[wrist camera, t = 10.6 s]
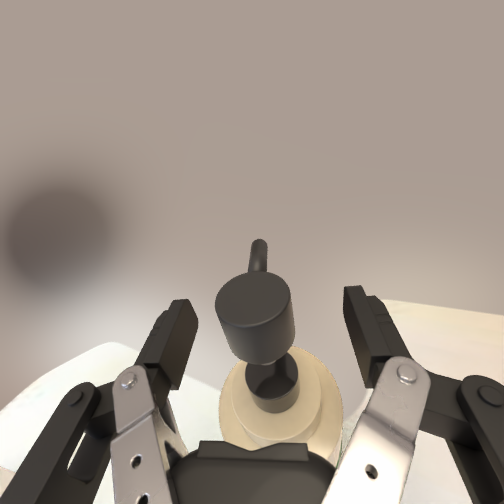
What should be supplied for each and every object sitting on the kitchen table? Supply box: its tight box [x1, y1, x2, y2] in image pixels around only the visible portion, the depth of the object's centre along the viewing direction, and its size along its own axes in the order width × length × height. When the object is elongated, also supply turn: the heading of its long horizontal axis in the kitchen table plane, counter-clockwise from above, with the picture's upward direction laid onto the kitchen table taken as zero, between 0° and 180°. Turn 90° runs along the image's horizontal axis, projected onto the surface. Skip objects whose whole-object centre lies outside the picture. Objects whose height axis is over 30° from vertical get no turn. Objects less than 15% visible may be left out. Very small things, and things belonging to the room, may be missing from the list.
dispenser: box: [219, 346, 343, 468], centre depth 17 cm, size 7×7×16 cm
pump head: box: [215, 239, 295, 365], centre depth 12 cm, size 6×3×4 cm, turn 176°
